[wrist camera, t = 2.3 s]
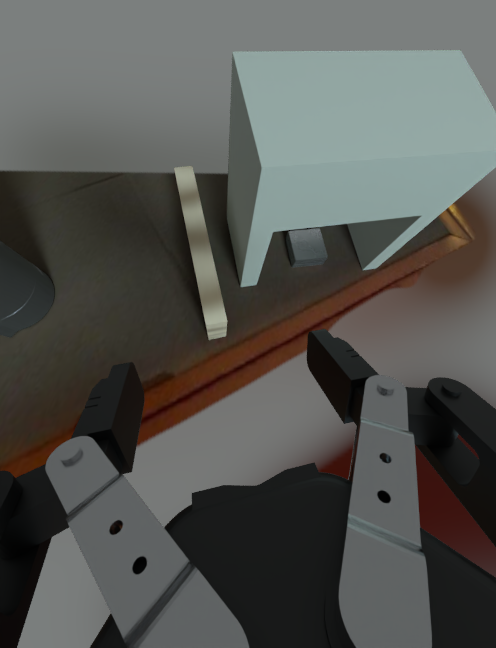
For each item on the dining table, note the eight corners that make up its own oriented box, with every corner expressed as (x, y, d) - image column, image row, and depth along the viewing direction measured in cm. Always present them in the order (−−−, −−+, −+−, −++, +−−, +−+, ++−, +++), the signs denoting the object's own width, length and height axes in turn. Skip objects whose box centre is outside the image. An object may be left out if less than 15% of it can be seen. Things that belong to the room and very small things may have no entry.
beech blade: (225, 336, 37) (227, 321, 30) (208, 340, 37) (206, 325, 30) (197, 205, 43) (192, 165, 35) (181, 207, 42) (174, 167, 35)
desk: (376, 268, 42) (516, 149, 22) (240, 287, 39) (261, 167, 19) (352, 199, 46) (455, 41, 26) (225, 211, 42) (230, 41, 22)
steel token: (321, 265, 42) (327, 257, 40) (291, 268, 41) (295, 260, 39) (314, 237, 43) (319, 228, 41) (284, 240, 43) (288, 231, 40)
